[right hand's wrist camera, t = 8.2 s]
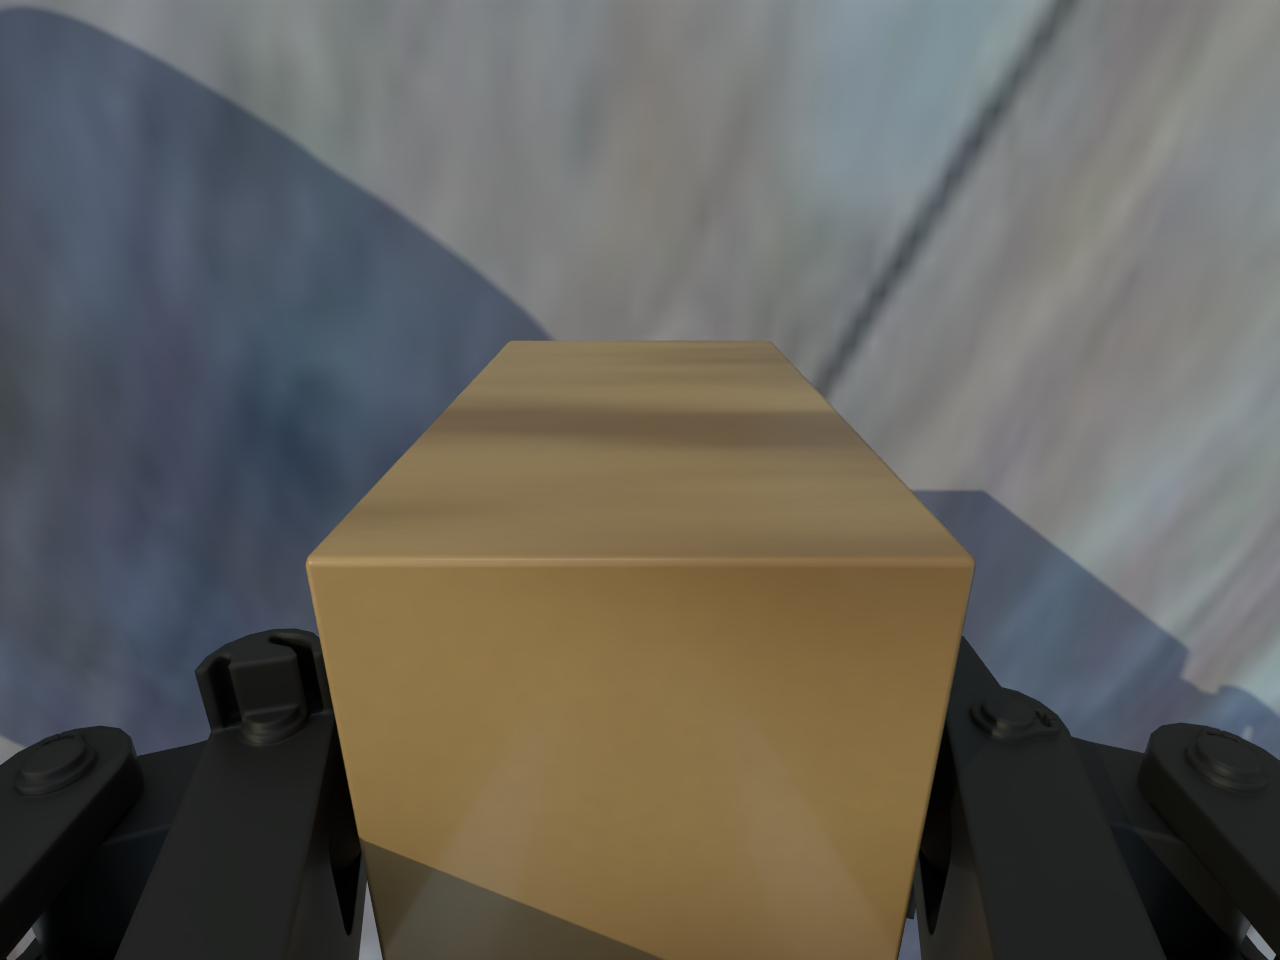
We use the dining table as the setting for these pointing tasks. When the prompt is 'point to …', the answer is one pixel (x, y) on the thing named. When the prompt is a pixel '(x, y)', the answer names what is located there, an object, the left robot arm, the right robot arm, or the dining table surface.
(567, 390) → the bar
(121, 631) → the dining table surface
